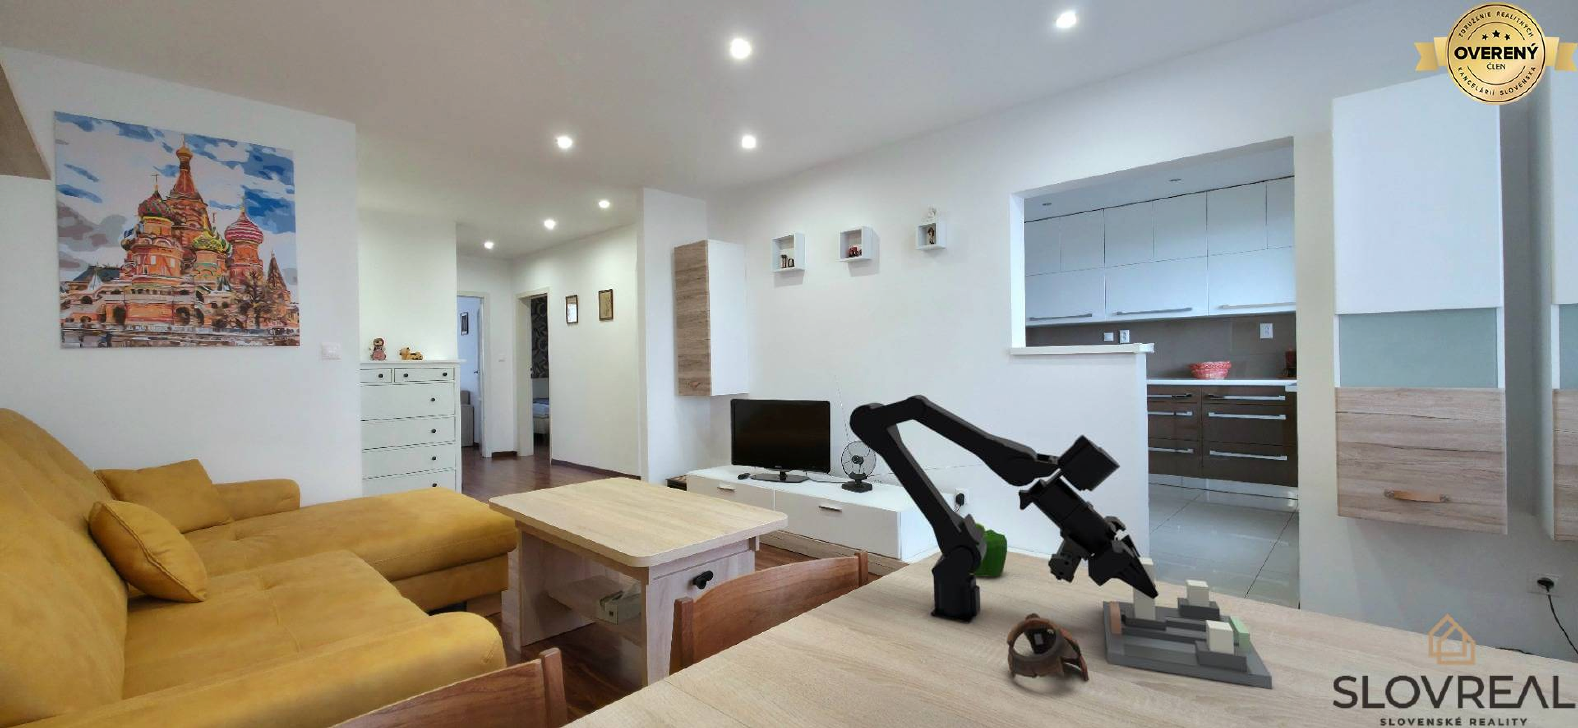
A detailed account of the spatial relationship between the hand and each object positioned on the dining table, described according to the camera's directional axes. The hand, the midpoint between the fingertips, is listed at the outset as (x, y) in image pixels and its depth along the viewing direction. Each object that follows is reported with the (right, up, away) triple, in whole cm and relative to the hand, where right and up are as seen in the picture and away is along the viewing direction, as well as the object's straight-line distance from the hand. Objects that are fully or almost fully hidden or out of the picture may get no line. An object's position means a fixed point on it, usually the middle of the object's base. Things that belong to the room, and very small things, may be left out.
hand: (1154, 592), depth 89 cm
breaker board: (+2, -7, -1) cm, 7 cm away
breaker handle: (-1, -6, +1) cm, 6 cm away
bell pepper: (-15, -8, +30) cm, 35 cm away
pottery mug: (-19, -8, -7) cm, 22 cm away
